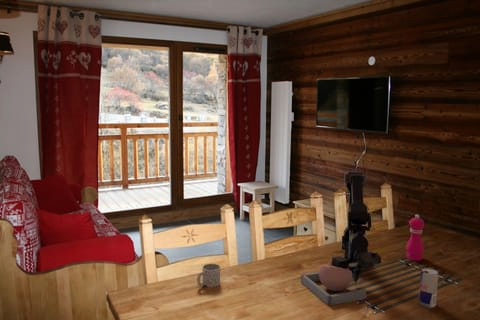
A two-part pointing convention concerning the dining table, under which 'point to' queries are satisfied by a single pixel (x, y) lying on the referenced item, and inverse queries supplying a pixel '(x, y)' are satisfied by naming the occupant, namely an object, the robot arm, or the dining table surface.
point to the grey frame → (324, 296)
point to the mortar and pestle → (335, 277)
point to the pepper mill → (415, 239)
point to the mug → (210, 275)
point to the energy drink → (428, 287)
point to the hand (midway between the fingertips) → (355, 282)
